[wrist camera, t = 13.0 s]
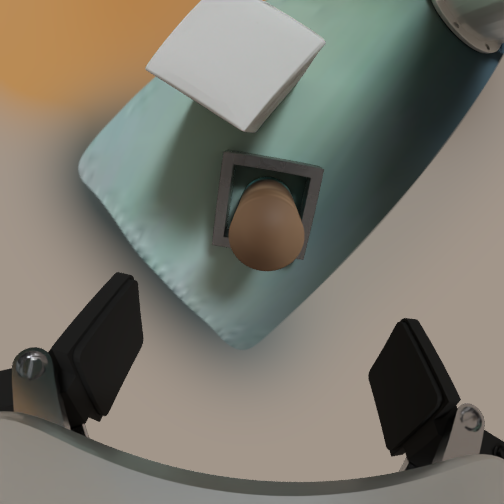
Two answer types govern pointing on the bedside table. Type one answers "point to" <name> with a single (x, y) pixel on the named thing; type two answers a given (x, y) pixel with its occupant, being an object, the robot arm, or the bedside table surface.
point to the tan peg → (266, 226)
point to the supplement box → (236, 58)
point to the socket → (269, 163)
